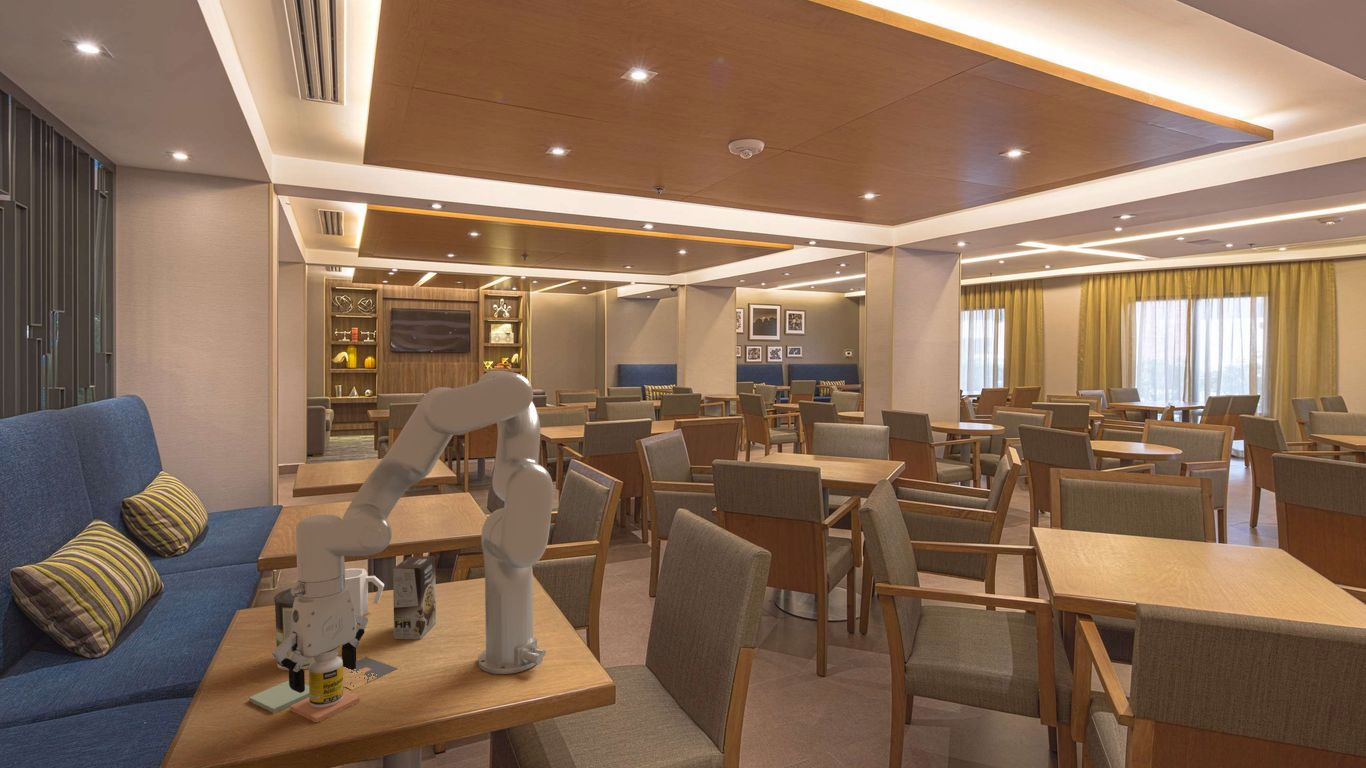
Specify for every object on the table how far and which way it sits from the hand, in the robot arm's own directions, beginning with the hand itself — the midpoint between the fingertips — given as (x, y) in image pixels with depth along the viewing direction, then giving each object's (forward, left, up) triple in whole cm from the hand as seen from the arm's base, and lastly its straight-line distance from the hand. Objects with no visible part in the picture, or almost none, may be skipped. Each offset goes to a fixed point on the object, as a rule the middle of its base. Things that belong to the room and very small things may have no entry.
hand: (324, 678), depth 123 cm
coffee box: (+13, -30, -5) cm, 33 cm away
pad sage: (+9, +2, -5) cm, 11 cm away
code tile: (+6, -11, -5) cm, 14 cm away
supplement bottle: (0, 0, -4) cm, 5 cm away
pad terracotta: (0, 0, -5) cm, 5 cm away
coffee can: (+21, -9, -5) cm, 23 cm away
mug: (+34, -30, -5) cm, 46 cm away
